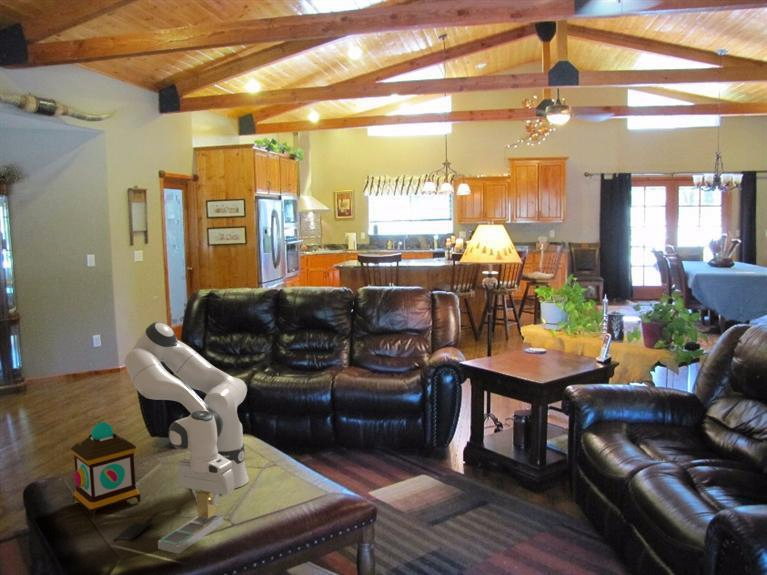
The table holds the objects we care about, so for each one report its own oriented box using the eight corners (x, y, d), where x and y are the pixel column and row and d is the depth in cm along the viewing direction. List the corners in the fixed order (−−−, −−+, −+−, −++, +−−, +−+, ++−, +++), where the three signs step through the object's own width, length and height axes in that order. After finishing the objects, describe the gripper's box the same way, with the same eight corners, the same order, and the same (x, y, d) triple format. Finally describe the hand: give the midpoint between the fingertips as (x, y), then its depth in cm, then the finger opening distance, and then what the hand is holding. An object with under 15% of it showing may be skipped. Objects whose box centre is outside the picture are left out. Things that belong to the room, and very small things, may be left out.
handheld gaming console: (126, 521, 205) (142, 499, 203) (145, 532, 206) (161, 511, 204) (111, 543, 194) (127, 521, 192) (130, 555, 195) (147, 533, 193)
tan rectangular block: (197, 516, 202) (196, 492, 201) (206, 510, 205) (204, 487, 205) (208, 518, 200) (207, 494, 199) (216, 512, 204) (215, 489, 203)
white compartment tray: (158, 550, 189) (157, 540, 189) (203, 520, 208) (203, 510, 208) (179, 555, 186) (178, 545, 185) (223, 524, 205) (223, 514, 205)
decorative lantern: (124, 487, 236) (119, 410, 233) (146, 503, 222) (141, 421, 219) (67, 504, 222) (61, 422, 219) (88, 522, 208) (81, 435, 205)
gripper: (172, 461, 202) (174, 502, 203) (224, 469, 194) (226, 512, 196) (185, 454, 208) (187, 494, 209) (236, 462, 200) (238, 503, 201)
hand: (206, 502), depth 202 cm, fingers closed on tan rectangular block, 4 cm apart
